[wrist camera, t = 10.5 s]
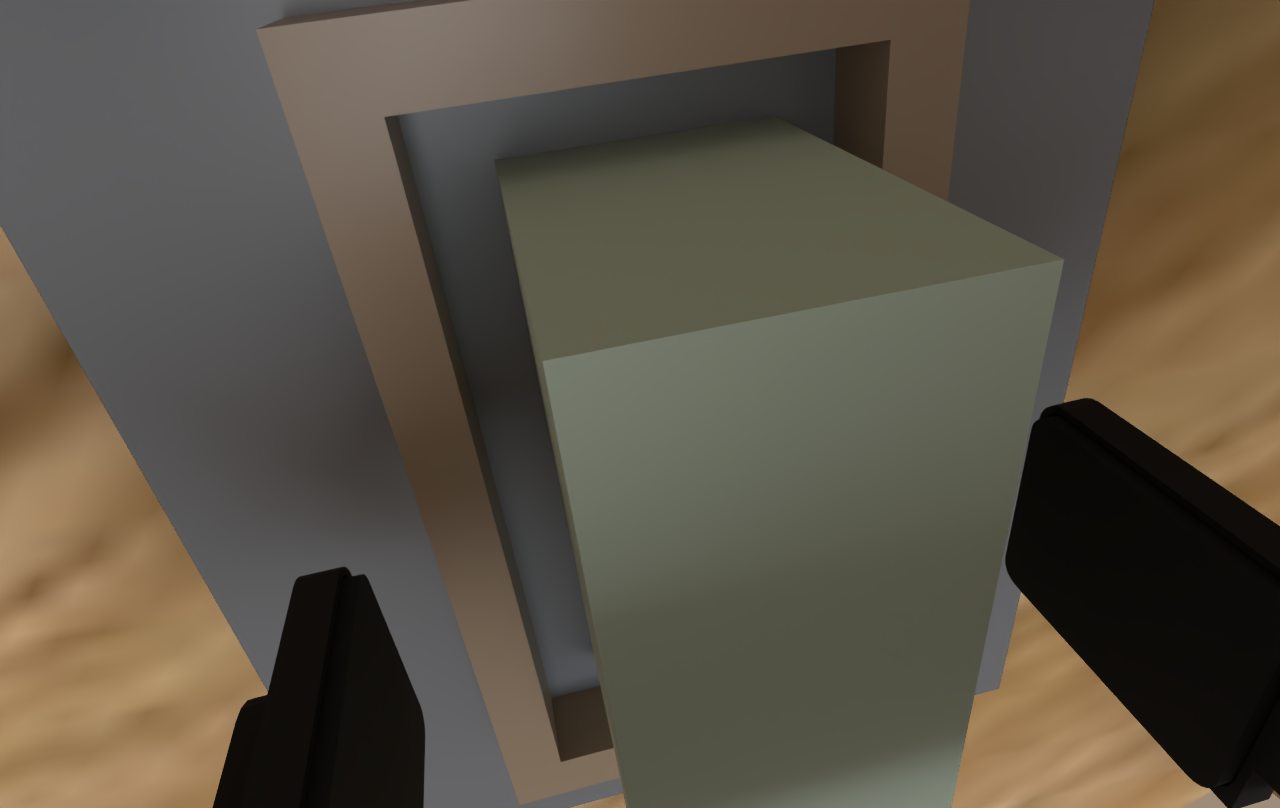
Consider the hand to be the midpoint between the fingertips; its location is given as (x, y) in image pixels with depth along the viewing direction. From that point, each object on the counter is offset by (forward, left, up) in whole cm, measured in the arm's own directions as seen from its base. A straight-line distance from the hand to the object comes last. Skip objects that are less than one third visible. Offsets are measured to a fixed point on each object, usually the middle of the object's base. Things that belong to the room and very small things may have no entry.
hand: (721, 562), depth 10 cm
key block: (0, 0, -3) cm, 3 cm away
